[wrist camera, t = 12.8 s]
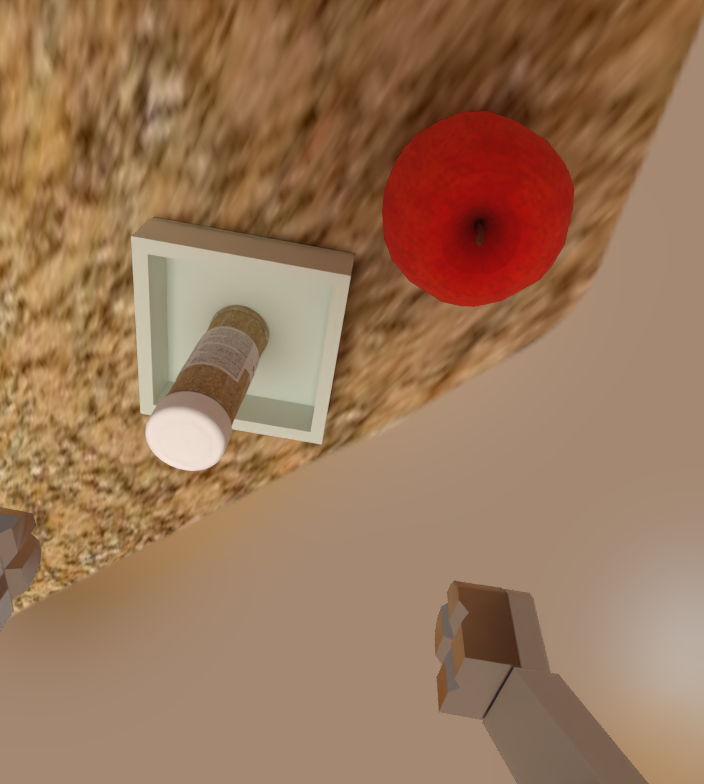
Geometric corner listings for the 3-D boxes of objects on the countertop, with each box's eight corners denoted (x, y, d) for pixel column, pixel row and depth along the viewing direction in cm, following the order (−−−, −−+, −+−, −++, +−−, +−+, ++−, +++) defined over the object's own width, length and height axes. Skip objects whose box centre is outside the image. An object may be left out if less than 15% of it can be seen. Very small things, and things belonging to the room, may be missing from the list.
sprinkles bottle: (252, 367, 45) (202, 486, 34) (199, 336, 44) (130, 449, 33) (281, 324, 43) (238, 436, 31) (226, 291, 41) (161, 395, 30)
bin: (153, 216, 39) (131, 236, 36) (354, 253, 40) (350, 276, 37) (158, 384, 47) (140, 413, 44) (327, 414, 48) (321, 444, 44)
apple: (561, 102, 34) (630, 141, 24) (523, 261, 39) (566, 349, 29) (392, 88, 34) (390, 122, 24) (378, 249, 40) (371, 332, 29)
